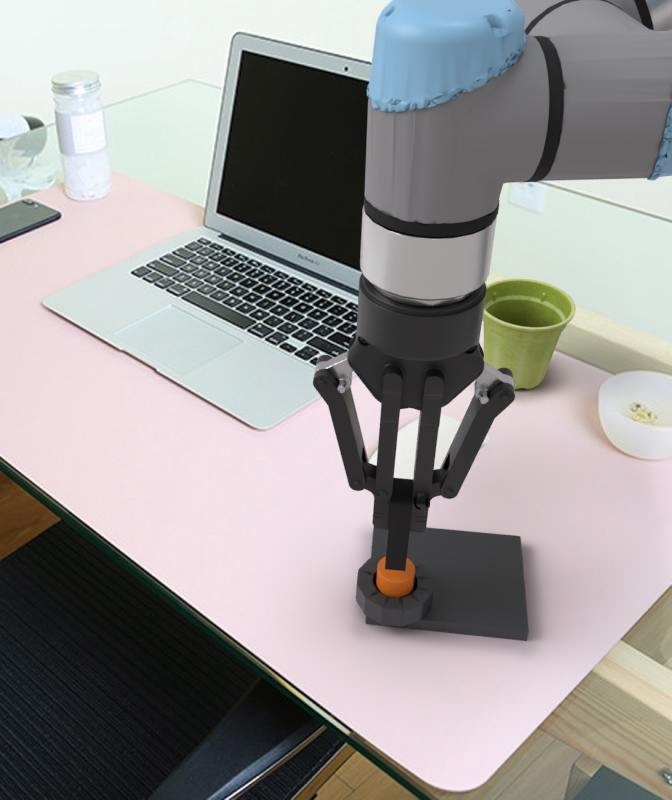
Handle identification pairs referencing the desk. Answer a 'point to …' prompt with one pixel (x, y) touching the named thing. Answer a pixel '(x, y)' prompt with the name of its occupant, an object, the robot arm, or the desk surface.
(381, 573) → the button
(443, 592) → the dark piece
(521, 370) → the plant pot
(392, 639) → the desk surface
